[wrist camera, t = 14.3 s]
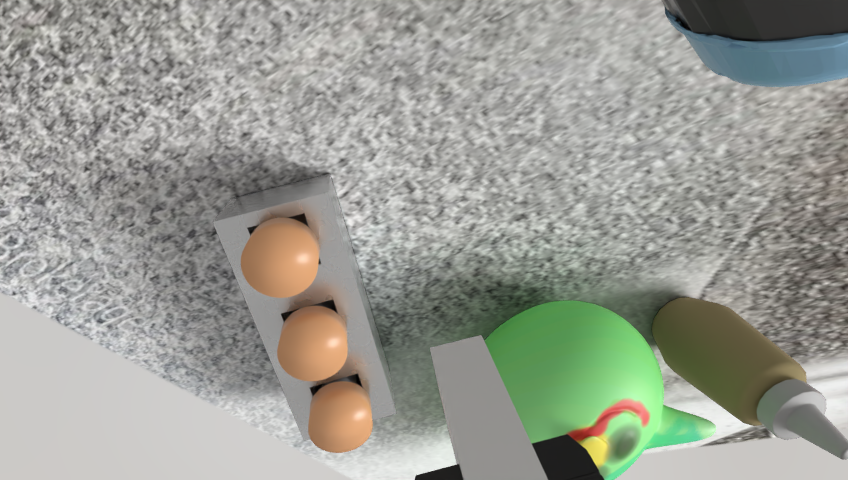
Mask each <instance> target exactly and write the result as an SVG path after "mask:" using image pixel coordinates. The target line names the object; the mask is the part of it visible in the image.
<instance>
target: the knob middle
mask: <svg viewBox="0 0 848 480" xmlns="http://www.w3.org/2000/svg"><path fill="white" fill-rule="evenodd" d="M347 352H348V347H347V328H346V325H345V322H344V321H343V319H342V318H341V316H340V315H339V314H337V313H336V312H335V311H334V300H329V301H325V302H322V303H318V304H314V305H311V306H307V307H303V308H300V309H298V310H296V311H295V312H293V313H292V314H291V315H290V316H289V317H288V318H287V319H286V320H285V322H284V324H283V327H282V330H281V335H280V339H279V344H278V349H277V357H278V361H279V363H280V365H281V367H282V368H283V369H284V370H285V372H287V373H288V374H289V375H291V376H292V377H294V378H296V379H299V380H303V381H319V380H323V379H326V378H329V377H331V376H332V375H334V374H335V373H337V372H338V371H339V370H340V369H341V368H342V366H343V365H344V363H345V361H346V358H347Z"/></svg>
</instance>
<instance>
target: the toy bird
mask: <svg viewBox="0 0 848 480" xmlns="http://www.w3.org/2000/svg"><path fill="white" fill-rule="evenodd" d="M484 341H485V344H486V346H487V348H488V350H489V352H490V355H491V357H492V359H493V361H494V363H495V365H496V368H497V370H498V372H499V374H500V376H501V378H502V381H503V383H504V385H505V387H506V389H507V392H508V394H509V396H510V398H511V400H512V402H513V405H514V407H515V409H516V411H517V413H518V415H519V418H520V420H521V422H522V424H523V426H524V429H525V431H526V433H527V435H528V437H529V439H530V442H531V444H532V443H535V442H539V441H543V440H547V439H551V438H554V437H558V436H562V435H566V434H568V435H569V436H570V437H572V438H573V439H574V440H575V441H577V442H578V443H579V444H580V445H582V446H583V447H584V448H585V449H587V451H588V453H589V454H590V456H591V458H592V459H593V461H594V463H595V465H596V466H597V468H598V470H599V472H600V475H602V476H603V478H604V480H614V479H615V478H617V477H618V476H620V475H621V474H622V473H623V472H625V471H626V470H627V469H628V468H629V467H630V466H631V465H632V464H633V463H634V462H635V461H636V460H637V459H638V457H639V456H640V455H641V454H642V452H643V451H644V450H645V449H650V448H655V447H662V446H669V445H676V444H682V443H688V442H694V441H698V440H702V439H705V438H708V437H710V436H712V435H713V434H714V433H715V431H716V426H715V425H714V424H713V423H712V422H710V421H708V420H706V419H704V418H701V417H699V416H696V415H693V414H689V413H686V412H683V411H680V410H676V409H673V408H670V407H667V406H665V405H663V401H664V387H663V379H662V374H661V370H660V367H659V364H658V362H657V359H656V357H655V355H654V353H653V351H652V349H651V348H650V346H649V344H648V343H647V342H646V340H645V339H644V338H643V336H642V335H641V334H640V333H639V332H638V331H637V330H636V329H635V328H634V327H633V326H632V325H631V324H630V323H629V322H627V321H626V320H625V319H624V318H622V317H621V316H619V315H618V314H616V313H614V312H612V311H610V310H608V309H606V308H604V307H601V306H599V305H595V304H592V303H588V302H582V301H572V300H563V301H554V302H548V303H544V304H541V305H537V306H535V307H532V308H529V309H527V310H525V311H523V312H521V313H519V314H517V315H515V316H513V317H512V318H510V319H509V320H507V321H506V322H504V323H503V324H502V325H500V326H499V327H498V328H497V329H495V330H494V331H493V332H492V333H491V334H490V335H489V336H488V337H487V338H486V339H485V340H484Z"/></svg>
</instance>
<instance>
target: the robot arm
mask: <svg viewBox="0 0 848 480" xmlns="http://www.w3.org/2000/svg"><path fill="white" fill-rule="evenodd" d="M662 2H663V4H664V6H665V14H666V16H667V18H668V20H669V21H670V23H671V24H672V25H673V26H674V27H675V28H676V29H677V30H678V31H680V32H681V33H683V34H684V35H685V37H686V38H687V40H688V41H689V43H690V44H691V46H692V47H693V48H694V50H695V51H696V53H697V54H698V56H699V57H700V59H701V60H702V62H703V63H704V64H705V65H706V66H707V67H708V68H709V69H711V70H712V71H713V72H715V73H716V74H718V75H722V76H726V77H728V78H730V79H732V80H733V81H737V82H739V83H742V84H747V85H754V86H765V87H786V86H800V85H808V84H815V83H821V82H827V81H832V80H837V79H842V78H846V77H848V0H662ZM430 352H431V357H432V361H433V365H434V370H435V374H436V379H437V383H438V388H439V392H440V397H441V401H442V405H443V410H444V414H445V419H446V423H447V427H448V431H449V435H450V439H451V443H452V446H453V450H454V454H455V458H456V462H457V465H454V466H450V467H446V468H442V469H439V470H435V471H431V472H427V473H423V474H420V475H416V477H415V480H604V478H603V476H602V475H600V472H599V470H598V468H597V466H596V465H595V463H594V461H593V459H592V458H591V456H590V454H589V453H588V451H587V449H585V448H584V447H583V446H582V445H580V444H579V443H578V442H577V441H575V440H574V439H573V438H572V437H570V436H569V435H568V434H566V435H562V436H558V437H554V438H551V439H547V440H543V441H539V442H535V443H532V444H531V442H530V439H529V437H528V435H527V433H526V431H525V429H524V426H523V424H522V422H521V420H520V418H519V415H518V413H517V411H516V409H515V407H514V405H513V402H512V400H511V398H510V396H509V394H508V392H507V389H506V387H505V385H504V383H503V381H502V378H501V376H500V374H499V372H498V370H497V368H496V365H495V363H494V361H493V359H492V357H491V355H490V352H489V350H488V348H487V346H486V344H485V341H484V339H483V337H482V335H479V336H475V337H471V338H467V339H463V340H459V341H455V342H451V343H446V344H442V345H438V346H434V347H430Z"/></svg>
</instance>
